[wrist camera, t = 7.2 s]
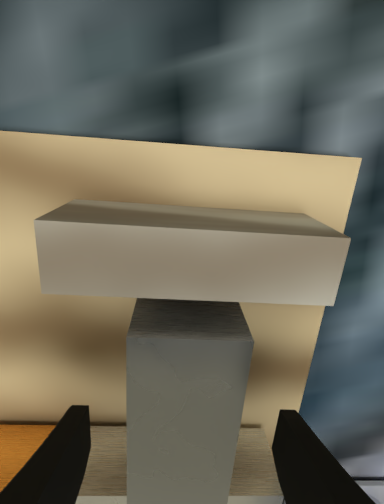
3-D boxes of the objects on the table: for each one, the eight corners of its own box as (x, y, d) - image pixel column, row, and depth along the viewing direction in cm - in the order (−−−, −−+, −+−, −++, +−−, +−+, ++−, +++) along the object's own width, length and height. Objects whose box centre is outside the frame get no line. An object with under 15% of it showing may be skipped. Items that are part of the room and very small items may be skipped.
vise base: (276, 466, 20) (304, 559, 16) (-83, 464, 19) (-167, 566, 14) (349, 157, 13) (435, 162, 9) (-200, 115, 12) (-429, 96, 7)
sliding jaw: (257, 459, 18) (275, 529, 15) (-94, 456, 17) (-161, 533, 13) (263, 428, 17) (284, 495, 14) (-105, 422, 16) (-181, 496, 12)
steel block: (212, 406, 17) (226, 507, 12) (141, 404, 16) (126, 507, 12) (228, 276, 14) (254, 341, 9) (143, 272, 14) (126, 337, 9)
